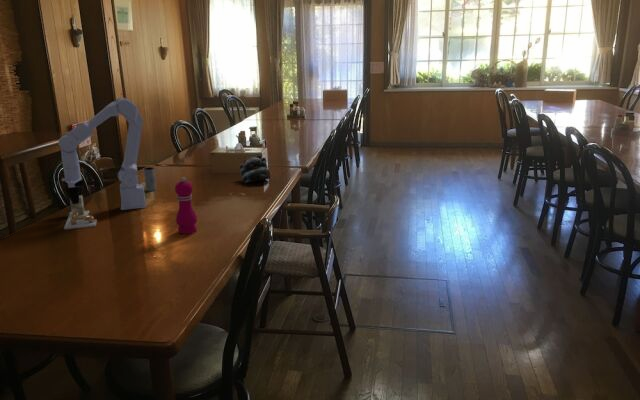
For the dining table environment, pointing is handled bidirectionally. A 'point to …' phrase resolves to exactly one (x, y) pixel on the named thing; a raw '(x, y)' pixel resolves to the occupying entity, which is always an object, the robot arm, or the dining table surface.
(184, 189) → the pepper mill
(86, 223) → the wire base
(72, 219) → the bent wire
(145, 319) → the dining table surface
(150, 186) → the grey upright cylinder
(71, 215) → the mat
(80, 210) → the birch block
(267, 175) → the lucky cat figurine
